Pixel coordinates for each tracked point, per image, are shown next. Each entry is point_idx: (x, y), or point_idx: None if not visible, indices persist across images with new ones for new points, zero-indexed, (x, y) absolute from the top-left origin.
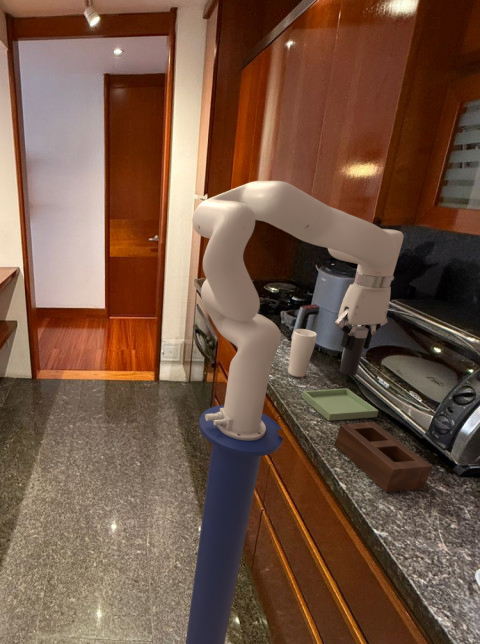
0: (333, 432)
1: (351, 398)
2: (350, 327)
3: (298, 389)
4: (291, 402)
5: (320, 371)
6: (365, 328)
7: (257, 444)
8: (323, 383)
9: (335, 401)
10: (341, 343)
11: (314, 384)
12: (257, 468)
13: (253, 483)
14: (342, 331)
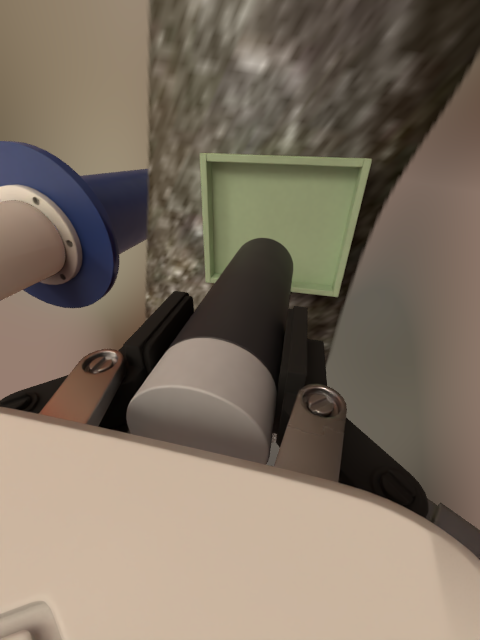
0: (196, 308)
1: (350, 201)
2: (133, 397)
3: (226, 90)
4: (164, 178)
5: None
6: (250, 458)
7: (63, 292)
8: (363, 44)
9: (284, 208)
10: (170, 295)
11: (316, 50)
12: (119, 253)
13: (131, 247)
14: (90, 359)
